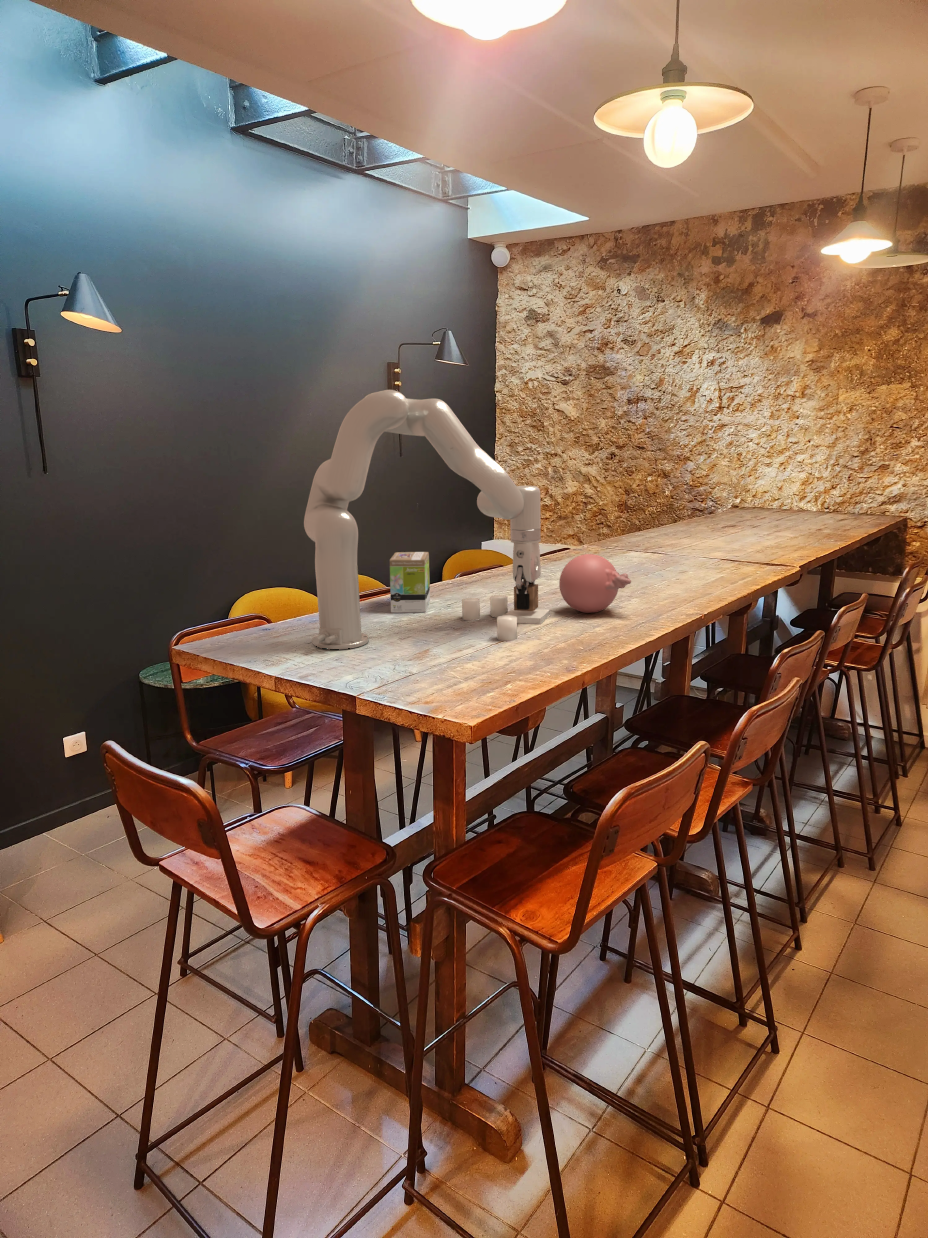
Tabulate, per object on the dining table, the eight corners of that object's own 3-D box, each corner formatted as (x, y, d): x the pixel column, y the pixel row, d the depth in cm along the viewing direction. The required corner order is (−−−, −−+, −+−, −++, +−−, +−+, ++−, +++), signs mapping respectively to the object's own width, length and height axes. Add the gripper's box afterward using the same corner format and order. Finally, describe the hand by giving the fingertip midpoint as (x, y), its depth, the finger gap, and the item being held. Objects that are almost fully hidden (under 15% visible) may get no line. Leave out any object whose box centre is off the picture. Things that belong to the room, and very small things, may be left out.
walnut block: (533, 611, 199) (533, 587, 198) (514, 610, 201) (513, 587, 199) (538, 607, 203) (538, 584, 202) (519, 606, 205) (519, 583, 204)
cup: (513, 641, 181) (513, 620, 180) (494, 640, 183) (494, 619, 182) (519, 636, 185) (519, 615, 184) (500, 635, 187) (500, 614, 186)
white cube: (476, 621, 202) (476, 601, 201) (459, 620, 203) (459, 601, 202) (482, 617, 206) (482, 598, 205) (465, 616, 208) (465, 597, 207)
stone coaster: (540, 624, 196) (540, 618, 196) (502, 622, 200) (501, 616, 200) (550, 615, 206) (550, 609, 205) (513, 613, 209) (513, 607, 209)
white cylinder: (504, 617, 204) (504, 599, 203) (488, 617, 206) (487, 598, 205) (510, 614, 209) (509, 595, 207) (493, 613, 210) (493, 594, 209)
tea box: (427, 612, 213) (425, 558, 209) (390, 613, 213) (387, 559, 210) (430, 601, 227) (428, 550, 224) (396, 602, 228) (393, 551, 224)
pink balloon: (611, 624, 194) (612, 562, 191) (547, 613, 208) (547, 555, 204) (645, 613, 205) (646, 554, 201) (582, 603, 219) (582, 548, 215)
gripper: (530, 540, 189) (531, 614, 193) (548, 531, 204) (548, 600, 208) (501, 539, 191) (502, 613, 196) (520, 531, 207) (521, 599, 211)
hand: (526, 606), depth 202 cm, fingers closed on walnut block, 4 cm apart
